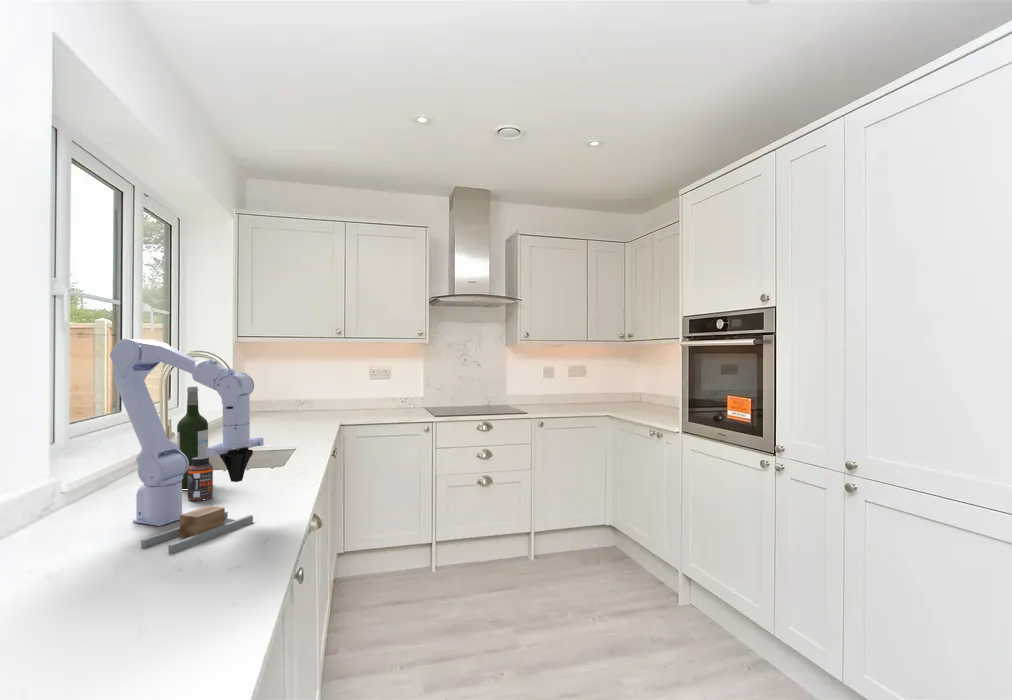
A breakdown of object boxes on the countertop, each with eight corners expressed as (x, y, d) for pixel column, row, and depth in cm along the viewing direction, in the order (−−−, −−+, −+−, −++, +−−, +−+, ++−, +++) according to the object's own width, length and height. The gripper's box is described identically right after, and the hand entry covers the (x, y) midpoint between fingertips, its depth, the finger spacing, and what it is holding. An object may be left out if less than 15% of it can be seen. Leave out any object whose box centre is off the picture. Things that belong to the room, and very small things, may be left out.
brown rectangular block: (179, 537, 112) (179, 514, 112) (208, 527, 118) (208, 505, 118) (196, 540, 110) (196, 517, 110) (224, 529, 117) (224, 507, 117)
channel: (141, 547, 106) (140, 540, 106) (224, 517, 125) (224, 511, 125) (171, 553, 103) (171, 545, 103) (252, 521, 121) (252, 515, 121)
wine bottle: (181, 485, 156) (181, 386, 156) (211, 482, 158) (210, 385, 158) (173, 491, 148) (173, 388, 148) (204, 489, 151) (204, 387, 151)
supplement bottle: (201, 502, 138) (201, 460, 138) (182, 501, 139) (182, 459, 139) (218, 496, 143) (217, 455, 143) (199, 495, 145) (199, 454, 145)
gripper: (222, 429, 114) (222, 490, 114) (272, 420, 128) (273, 475, 128) (199, 427, 117) (199, 487, 117) (251, 419, 130) (251, 473, 130)
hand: (236, 481), depth 123 cm, fingers closed
